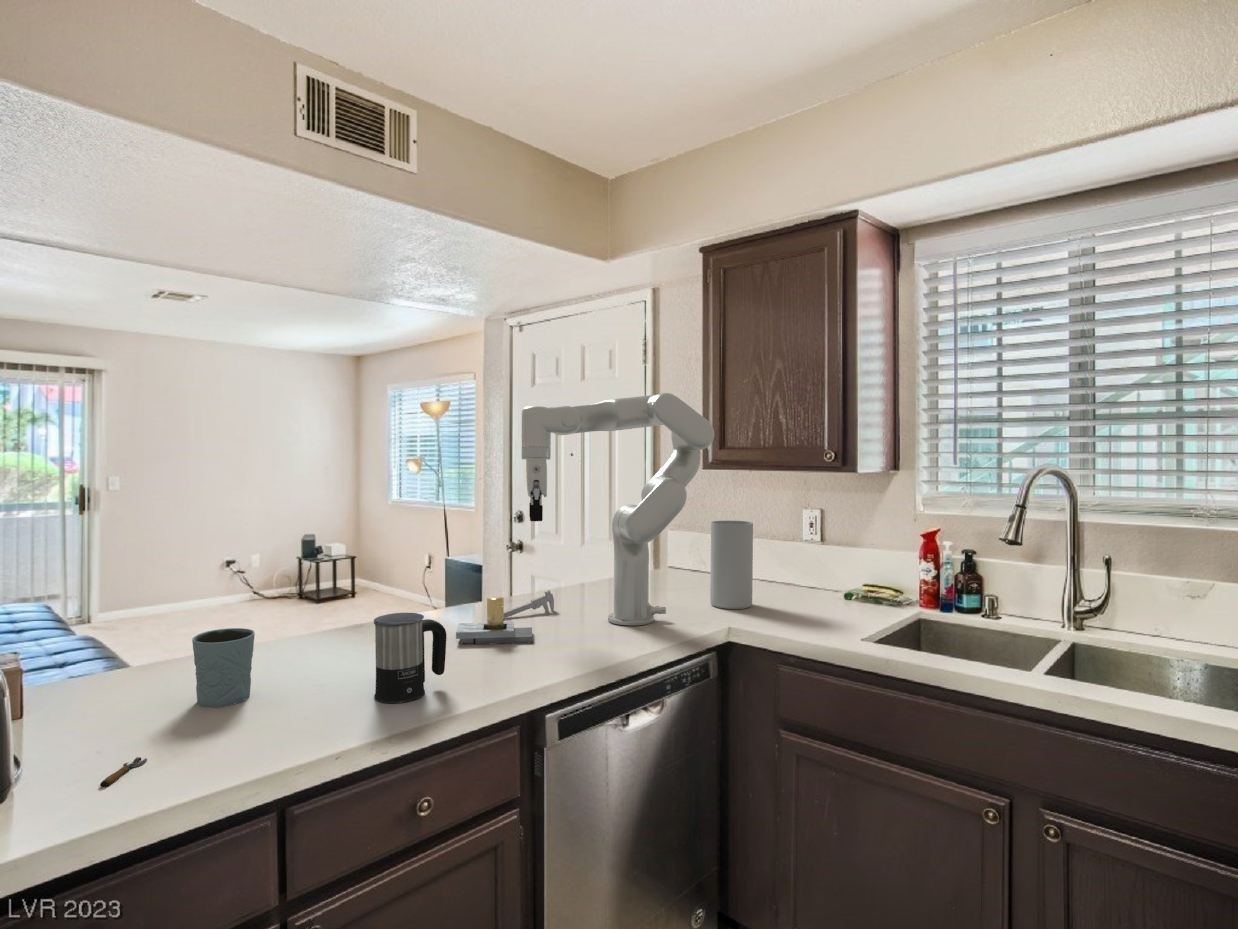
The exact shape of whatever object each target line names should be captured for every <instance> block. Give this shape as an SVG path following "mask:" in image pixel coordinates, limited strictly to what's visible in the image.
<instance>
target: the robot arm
mask: <svg viewBox="0 0 1238 929" xmlns="http://www.w3.org/2000/svg"><path fill="white" fill-rule="evenodd" d="M656 426H657V427H658V426H664V427H666V429H668V430H669V431H670V432H671V434H670V435H671V444H672V452H671V455H670V456H669V458H668V460H666V462H665V463H664V465H663V466H661V468H660V469H659V470H658V471H657V472H656V473H655V474H654V475H653V476H652V477H651V478H650V479H649V480H648V481H647V482H646V484H645V485H644V486H643V487H642V489H641V494H640V496H641V500H642V501H641V502H640V503H639V504H638V505H637V504H625V505H622V506H621V507H620V508H618V509H617V510H616V511H615V513H614V515H613V517H612V523H611V531H612V540H613V557H614V558H613V612H612V613H609V614H608V616H607V620H608V621H607V622H610V623H611V624H614V625H620V626H630V627H631V626H634V627H635V626H643V625H645V626H646V625H649V624H652V623H654V621H655V615H657V614H658V615H666V614H667V608H666V606H660V605H652V604H651V603H650V602H649V599H650V598H649V594H650V593H649V588H650V586H649V585H650V584H649V583H650V582H649V578H650V575H649V574H650V571H649V570H650V566H649V565H650V551H649V550H650V549H649V548H650V547H649V543H650V542H652V541H653V540H655V539H656V538H657V537H658V536H659V535H661V533H662V532H663V531H664V530H665V529H666V528H667V526H669V524H670V523H671V522H672V521H673V520H674V519H675V518H676V517H677V516H678V515H679V513H680V512H681V511H682V510H683V509H684V508H685V504H686V503H687V502H686V501H687V496H688V495H687V494H688V493H687V489H686V488H687V486H688V484H689V483H690V482H691V481H692V480H693V479H694V477H695V476H696V475H697V472H698V470H699V468H700V464H701V451H702V450H705V449H707V448H708V447H710V446H711V445H712V443H713V441H714V439H715V430H714V427H713V426H712V424H711V423H710V421H709V420H707V419H706V417H704V416H703V415H702V414H700V413H699V412H698V411H696V410H695V409H693V407H691V406H690V405H688V404H687V403H686V402H684V400H682V399H680V398H679V397H678V396H676V395H675V394H673V393H669V392H661V393H658V394H650V395H643V396H642V395H641V396H631V397H622V398H621V397H619V398H614V399H608V400H603V401H600V402H596V403H591V404H584V405H575V406H569V405H563V406H562V405H561V406H555V407H554V406H552V407H551V406H550V407H548V406H540V405H539V406H538V405H536V406H535V405H534V406H533V405H529V406H525V407H523V409H522V410H521V460H525V461H526V462H525V464H526V466H525V467H526V468H525V474H526V477H525V478H526V491H527V495H528V497H529V498H530V499H529V500H530V502H529V504H528V506H529V508H528V509H529V511H528V512H529V514H528V515H529V516H528V517H529V521H530V522H542V521H543V512H544V509H543V508H544V506H543V500H542V497H544V498H547V497H548V464H547V460H551V449H552V448H551V436H552V434H554V435H557V436H568V435H574V434H580V433H581V434H582V433H592V432H616V431H624V430H632V429H642V428H649V427H650V428H651V427H656Z"/></svg>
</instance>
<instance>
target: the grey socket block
mask: <svg viewBox="0 0 1238 929" xmlns="http://www.w3.org/2000/svg"><path fill="white" fill-rule="evenodd" d="M455 639H456V640H457V639H458V640H459V639H460V644H461V643H472V644H476V645H491V644H490V643H509V644H529V643H528V642H531V643H530V644H532V643H533V627H515V622H514V621H504V629H501V630H487V622H465V623H464V622H461V623H458V626H457V629H456V632H455Z"/></svg>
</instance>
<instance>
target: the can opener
mask: <svg viewBox="0 0 1238 929" xmlns="http://www.w3.org/2000/svg"><path fill="white" fill-rule="evenodd" d="M147 761H148V758H147V757H145V758H144V759H142V757H140V756H137V757H135V758H134V760H133V761H132V762H131V763H130V764H129V763H128V762H125V763H123V766H122V767H121V768H119V769H118V770H117V771H115V772H114V773H113V772H112V774H110V775H108V776H107V777H106V778H105V779H103V780H102V781H101V782H100V784H99V787H101V788H108V787H109V786H111V785H112V784H114V783H115V782H116V781H118V780H119V779H120V778H121V777H122V776H124V775H125V774H126V773H128V772H130V770H131V769H132V768H138V767H141V766H143V765H144V764H146V763H147ZM138 762H139V763H138Z"/></svg>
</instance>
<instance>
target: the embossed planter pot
mask: <svg viewBox="0 0 1238 929" xmlns="http://www.w3.org/2000/svg"><path fill="white" fill-rule="evenodd" d="M255 635H256V633H255V630H253V629H251V628H244V627H229V628H219V629H218V628H217V629H213V630H208V631H203V632H200V633H198V634H197V635H195V636H193V637H192V643H191V644H192V650H193V657H194V658H193V660H194V665H195V680H196V687H195V689H196V690H195V692H196V701H197V704H198V705H199V706H201V705H202V706H201V707H204V706H205V707H206V706H207V707H206V708H218V707H219V706H221V707H227V706H226V705H228V706H232V705H235V703H236V704H239V703H242V702H244V701H246V700H247V699H249V698H250V695H251V687H252V686H251V685H252V678H251V673H252V663H253V662H252V661H253V660H252V659H253V657H254V656H253V655H254V648H255V647H254V644H255ZM248 697H249V698H248ZM245 699H246V700H245ZM238 702H239V703H238ZM219 708H220V707H219Z"/></svg>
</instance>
